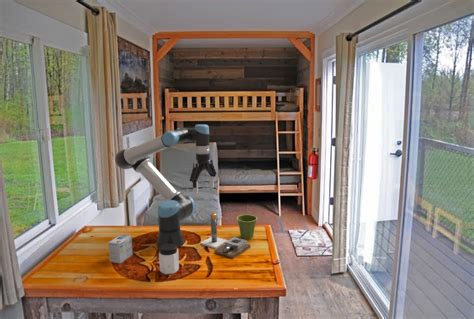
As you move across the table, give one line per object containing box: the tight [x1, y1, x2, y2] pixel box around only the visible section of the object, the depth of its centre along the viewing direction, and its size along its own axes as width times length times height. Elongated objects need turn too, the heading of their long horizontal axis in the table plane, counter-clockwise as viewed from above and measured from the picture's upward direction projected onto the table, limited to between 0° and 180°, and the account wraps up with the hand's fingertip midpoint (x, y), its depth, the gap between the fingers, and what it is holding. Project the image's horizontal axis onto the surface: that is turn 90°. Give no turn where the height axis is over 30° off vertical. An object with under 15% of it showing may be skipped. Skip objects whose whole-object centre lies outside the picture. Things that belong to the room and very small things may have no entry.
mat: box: [199, 236, 229, 250], centre depth 211 cm, size 11×11×1 cm
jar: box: [158, 243, 180, 275], centre depth 179 cm, size 9×8×12 cm
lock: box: [214, 236, 251, 259], centre depth 201 cm, size 12×16×4 cm
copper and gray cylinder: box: [210, 212, 218, 243], centre depth 209 cm, size 3×3×16 cm
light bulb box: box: [107, 234, 133, 264], centre depth 193 cm, size 11×7×11 cm, turn 160°
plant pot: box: [236, 214, 258, 239], centre depth 219 cm, size 12×12×11 cm
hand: (203, 190), depth 212 cm, fingers open, 13 cm apart
